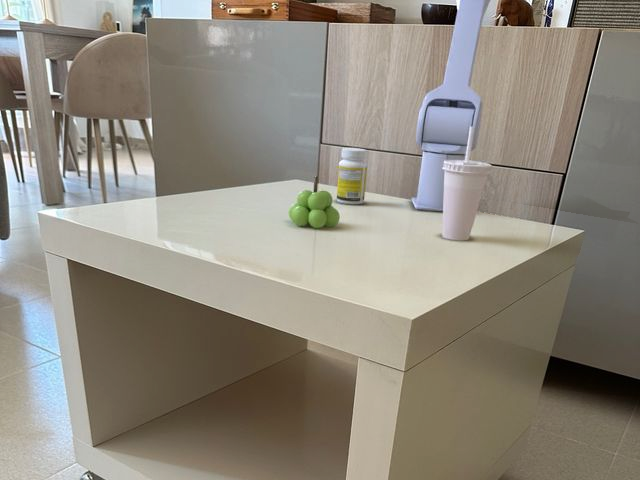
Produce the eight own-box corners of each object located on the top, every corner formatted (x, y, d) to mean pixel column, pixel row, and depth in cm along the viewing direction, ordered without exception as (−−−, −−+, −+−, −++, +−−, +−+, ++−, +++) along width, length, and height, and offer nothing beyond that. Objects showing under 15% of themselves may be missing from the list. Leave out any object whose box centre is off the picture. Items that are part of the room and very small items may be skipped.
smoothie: (426, 237, 86) (442, 124, 79) (440, 230, 91) (456, 123, 84) (471, 245, 84) (492, 129, 77) (483, 237, 89) (504, 128, 82)
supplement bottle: (348, 199, 110) (352, 147, 106) (369, 203, 107) (374, 150, 103) (330, 201, 107) (334, 147, 103) (352, 205, 104) (356, 151, 100)
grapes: (285, 218, 91) (287, 171, 88) (330, 219, 93) (334, 173, 90) (294, 229, 85) (296, 179, 82) (342, 230, 86) (346, 181, 83)
